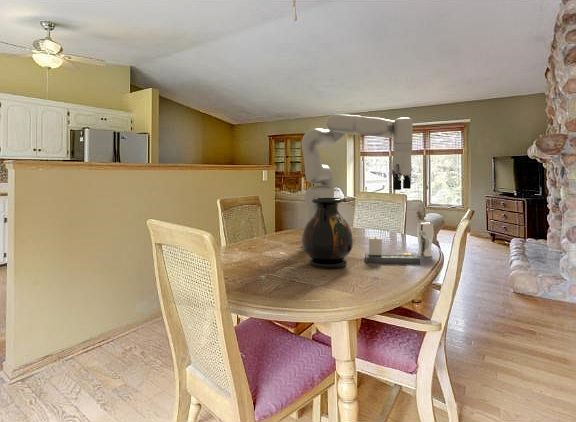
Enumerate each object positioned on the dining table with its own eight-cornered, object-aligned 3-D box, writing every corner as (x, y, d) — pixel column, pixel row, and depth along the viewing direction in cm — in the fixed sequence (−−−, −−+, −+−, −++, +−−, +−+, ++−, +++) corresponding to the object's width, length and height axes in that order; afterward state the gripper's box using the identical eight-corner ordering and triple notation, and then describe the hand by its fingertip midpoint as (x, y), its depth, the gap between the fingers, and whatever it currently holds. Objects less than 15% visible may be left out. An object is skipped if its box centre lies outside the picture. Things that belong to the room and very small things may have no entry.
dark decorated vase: (348, 273, 136) (348, 201, 132) (295, 269, 143) (294, 200, 140) (357, 260, 156) (357, 196, 153) (310, 256, 163) (309, 196, 160)
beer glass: (434, 257, 157) (435, 224, 156) (417, 257, 159) (418, 224, 157) (431, 253, 164) (432, 222, 162) (415, 253, 166) (416, 221, 164)
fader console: (366, 263, 150) (366, 257, 150) (364, 258, 159) (364, 252, 159) (420, 264, 147) (420, 258, 147) (415, 258, 156) (415, 253, 156)
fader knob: (369, 255, 152) (369, 238, 151) (368, 252, 156) (368, 237, 155) (381, 255, 151) (381, 238, 150) (380, 252, 155) (380, 237, 154)
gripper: (402, 149, 157) (401, 188, 159) (385, 148, 144) (384, 190, 146) (419, 148, 152) (418, 188, 154) (402, 147, 139) (402, 190, 141)
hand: (402, 189), depth 150 cm, fingers open, 9 cm apart
